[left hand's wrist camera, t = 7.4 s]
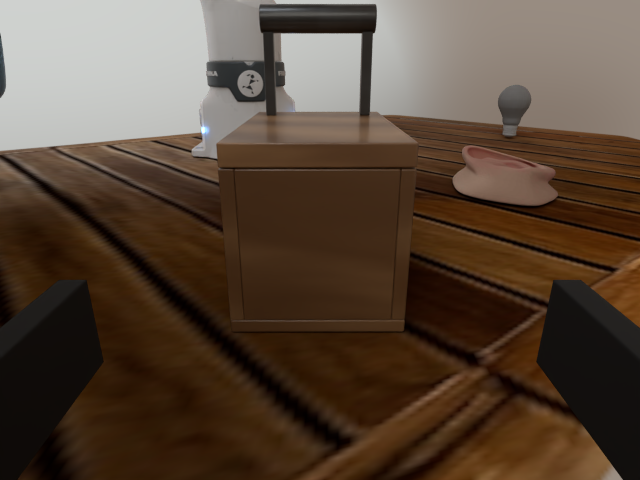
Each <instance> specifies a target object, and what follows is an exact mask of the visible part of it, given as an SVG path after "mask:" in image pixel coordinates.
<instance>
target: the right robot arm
mask: <svg viewBox="0 0 640 480" xmlns="http://www.w3.org/2000/svg"><path fill="white" fill-rule="evenodd" d="M200 1H201V5H202V9H203V14H204V20H205V27H206V35H207V43H208V54H209V61H221V62H207V71H206V75H207V79H208V85H209V86H210V90H209V92H208V94H207V96H206V97H205V98H204V99H203V101H201V103H200V107H201V109H200V110H199V113H200V123H201V126H202V128H201V134H202V136H203V142H201V143H200V144H199V145H197V146H196V147H195V148H193V149H192V156H198V157H210V158H215V159H217V148H216V143H217V142H219V141H220V140H221V139H223V138H224V137H226V136H227V135H228V134H230V133H231V132H232V131H234V130H235V129H237V128H238V127H239V126H241V125H242V124H243V123H245V122H246V121H247V120H249V119H250V118H252V117H253V116H254V115H256V114H257V113H258V112H266V95H265V71H264V47H263V33H261V31H260V24H259V5H260V4H276V3H275V1H274V0H200ZM274 50H275V79H276V109H277V112H295V103H294V100H293V99H292V98H291V97H289V96H288V95H287V93H286V92H285V90H284V88H283V86H284V85H285V70H284V63H283V62H276V61H281V33H274Z"/></svg>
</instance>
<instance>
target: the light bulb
mask: <svg viewBox="0 0 640 480" xmlns="http://www.w3.org/2000/svg"><path fill="white" fill-rule="evenodd" d="M530 103H531V95H530V93H529V91H528V90H527V89H526V88H525V87H523V86H520V85H513V86H509V87H507V88H506V89H505V90H504V91H503V92H502V93H501V94H500V96H499V99H498V106H499V109H500V112H501V114H502V117H503V124H504V126H503V129H504V130H503V133H502V134H503V135H504V136H505V137H513V136H515V135H516V133H517V132H516V131H517V130H516V129H517V127H518V124H519V123H520V120H521V117H522V116H523V114H524V113H525V112H526V110H527V109H528V108H529V106H530Z"/></svg>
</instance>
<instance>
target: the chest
mask: <svg viewBox="0 0 640 480" xmlns="http://www.w3.org/2000/svg"><path fill="white" fill-rule="evenodd" d="M218 174H219V186H220V198H221V210H222V222H223V234H224V246H225V259H226V271H227V283H228V295H229V307H230V319H231V329H232V332H394V331H404V324H405V320H404V319H405V311H406V298H407V285H408V273H409V260H410V247H411V234H412V222H413V209H414V196H415V183H416V169H415V168H219V169H218Z"/></svg>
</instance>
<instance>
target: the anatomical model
mask: <svg viewBox="0 0 640 480" xmlns="http://www.w3.org/2000/svg"><path fill="white" fill-rule="evenodd" d="M462 156H463V159H464V161H465V163H466V167H465V168H463V169H462V170H460V171H459V172H458V173H457V174H456V175H455V176H454V177H453V184H454V187H455V188H456V189H457V190H458V191H459V192H460V193H462V194H464V195H467V196H470V197H474V198H479V199H483V200H488V201H494V202H500V203H507V204H515V205H524V206H539V205H543V204H546V203H548V202H550V201H552V200H554V199H555V198H556V197H557V196H558V193H557V192H556V190H554V189H553V188H552V187H551V186H550V185H549V184H548V182H549V181H550V180H551V179H552V178H553V177H554V176H555V170H554V169H552V168H549V167H546V166H543V165H539V164H536V163H533V162H530V161H527V160H524V159H521V158H518V157H514V156H511V155H507V154H504V153H500V152H497V151H493V150H489V149H486V148H482V147H477V146H466V147H464V148H463V150H462Z"/></svg>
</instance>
